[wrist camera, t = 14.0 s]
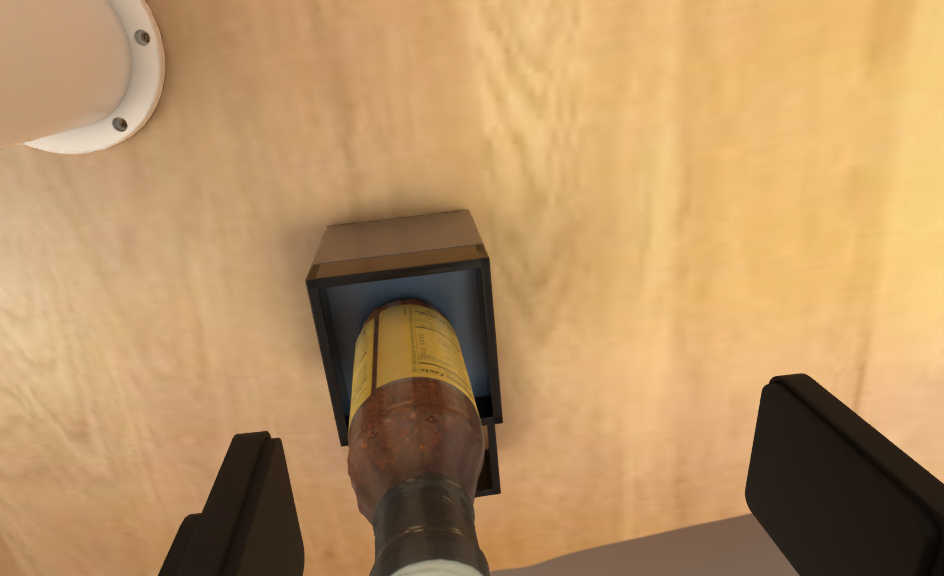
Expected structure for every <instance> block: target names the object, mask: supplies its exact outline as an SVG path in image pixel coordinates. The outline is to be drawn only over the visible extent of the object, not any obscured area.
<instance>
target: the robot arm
mask: <svg viewBox="0 0 944 576" xmlns="http://www.w3.org/2000/svg"><path fill="white" fill-rule="evenodd" d="M146 33H147V34H148V35H149V37H150V41H149V42H146V41H145V39H144V35H145V34H146ZM164 78H165V52H164V48H163V43H162V39H161V35H160V31H159V28H158V26H157V23H156V21H155V18H154V16H153V14H152V11H151V9H150V8H149V6H148V4H147V3H146V1H145V0H0V149H1V148H5V147H9V146H12V145H16V144H20V143H21V144H23V145H26V146H29V147H32V148H35V149H38V150H41V151H47V152H53V153H59V154H85V153H90V152H95V151H100V150H104V149H107V148H109V147H112V146H115V145H117V144H119V143H121V142H123V141H124V140H126V139H128V138H130V137H131V136H133V135H134V134H135V133H136V132H137V131H138V130H139V129H140V128H142V127H143V126H144V125H145V124H146V122H147V121H148V119H149V118H150V116H151V115H152V114H153V112H154V111H155V109H156V107H157V104H158V101H159V99H160V96H161V94H162V90H163V84H164ZM123 119H124V120H125V121H126V122H127V127H125V126H124V125H123V123H122V120H123ZM745 498H746V502H747V505H748V507H749V509H750V511H751V512H752V513H753V515H754V516H755V517H756V519H757V520H758V521H759V523H760V524H761V525H762V526H763V528H764V529H765V531H766V532H767V533H768V534H769V536H770V537H771V538H772V540H773V541H774V542H775V544H776V545H777V546H778V548H779V549H780V550H781V552H782V553H783V554H784V555H785V557H786V558H787V559H788V561H789V562H790V563H791V565H792V566H793V567H794V569H795V570H796V571H797V573H798V574H799V575H800V576H944V484H943V483H942V482H941V481H939V480H938V479H937V478H936V477H934V476H933V475H932V474H931V473H929V472H928V471H927V470H926V469H924V468H923V467H922V466H921V465H919V464H918V463H917V462H916V461H914V460H913V459H912V458H911V457H909V456H908V455H907V454H906V453H904V452H903V451H902V450H901V449H899V448H898V447H897V446H896V445H894V444H893V443H892V442H891V441H889V440H888V439H887V438H886V437H885V436H883V435H882V434H881V433H880V432H878V431H877V430H876V429H875V428H873V427H872V426H871V425H870V424H868V423H867V422H866V421H865V420H863V419H862V418H861V417H860V416H858V415H857V414H856V413H855V412H853V411H852V410H851V409H850V408H848V407H847V406H846V405H845V404H843V403H842V402H841V401H840V400H838V399H837V398H836V397H835V396H833V395H832V394H831V393H830V392H828V391H827V390H826V389H825V388H823V387H822V386H821V385H820V384H818V383H817V382H816V381H815V380H813V379H812V378H811V377H810V376H808V375H806V374H791V375H782V376H775V377H773V378H772V379H771V380H770V382H769V384H768V385H765V386H764V387H763V389H762V393H761V399H760V405H759V411H758V417H757V423H756V429H755V435H754V441H753V447H752V453H751V459H750V465H749V470H748V476H747V482H746V488H745ZM303 570H304V546H303V541H302V536H301V531H300V527H299V522H298V517H297V512H296V507H295V503H294V498H293V493H292V488H291V484H290V479H289V474H288V469H287V464H286V460H285V455H284V450H283V445H282V441H281V439H280V438H272V439H271V436H270V434H269V432H268V431H262V432H253V433H244V434H236V435H235V436H234V437H233V439H232V441H231V444H230V446H229V449H228V451H227V453H226V456H225V458H224V461H223V463H222V466H221V468H220V470H219V473H218V475H217V478H216V480H215V482H214V485H213V487H212V490H211V492H210V494H209V497H208V499H207V502H206V504H205V506H204V509H203V511H202V513H198V514H190V515H188V516H187V517H186V518H185V519H184V520H183V522H182V524H181V525H180V528H179V530H178V532H177V534H176V537H175V539H174V541H173V543H172V545H171V548H170V550H169V552H168V554H167V557H166V559H165V561H164V563H163V566H162V568H161V570H160V572H159V574H158V576H303Z"/></svg>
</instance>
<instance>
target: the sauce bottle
mask: <svg viewBox="0 0 944 576" xmlns="http://www.w3.org/2000/svg"><path fill="white" fill-rule="evenodd" d="M348 443H349V455H348V474H349V476H350V478H351V484H352V487H353V489H354V491H355V493H356V497H357V501H358V508H359V511H360V513H361V514H363V515H364V516H365V517H366V518H367V520H368V521H369V522H370V523H371V525H372V526H373V530H374V535H375V563H374V565H373V568H372V570H371V572H370V575H369V576H490V574H489V566H488V563H487V560H486V558H485V556H484V554H483V552H482V551H481V550H480V548H479V545H478V541H477V536H476V531H475V525H474V521H475V514H474V507H473V503H474V498H475V492H476V487H477V481H478V477H479V475H480V473H481V470H482V466H483V462H484V453H485V441H484V433H483V429H482V424H481V420H480V417H479V414H478V410H477V407H476V403H475V400H474V396H473V393H472V389H471V385H470V381H469V377H468V373H467V370H466V367H465V363H464V360H463V356H462V352H461V348H460V345H459V341H458V338H457V335H456V333H455V331H454V329H453V327H452V326H451V324H450V322H449V320H448V319H447V317H446V316H445V315H444V314H442V313H441V312H440V311H439V310H438V309H435V308H434V307H433V306H431V305H429V304H427V303H425V302H421V301H420V300H417V299H404V300H397V301H394V302H390V303H387V304H386V305H384V306H380V307H379V308H377V309H375V310H374V311H373V312H372V313H371V314H370V315H369V316H368V318H367V319H366V321H365V322H364V324H363V327H362V330H361V332H360V335H359V337H358V339H357V342H356V346H355V358H354V368H353V383H352V395H351V407H350V418H349V430H348Z"/></svg>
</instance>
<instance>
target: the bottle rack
mask: <svg viewBox="0 0 944 576" xmlns="http://www.w3.org/2000/svg"><path fill="white" fill-rule="evenodd" d="M306 286H307V290H308V295H309V299H310V304H311V309H312V313H313V318H314V323H315V327H316V332H317V337H318V341H319V346H320V351H321V355H322V360H323V365H324V369H325V374H326V379H327V383H328V388H329V392H330V397H331V402H332V406H333V411H334V416H335V420H336V425H337V430H338V434H339V439H340V444H341V446H348V445H349V443H348V430H349V418H350V407H351V395H352V383H353V368H354V358H355V346H356V342H357V339H358V337H359V335H360V332H361V330H362V327H363V324H364V322H365V321H366V319H367V318H368V316H369V315H370V314H371V313H372V312H373V311H374V310H375V309H377V308H379V307H380V306H384V305H386V304H387V303H390V302H394V301H397V300H404V299H417V300H420V301H421V302H425V303H427V304H429V305H431V306H433V307H434V308H435V309H438V310H439V311H440V312H441V313H442V314H444V315H445V316H446V317H447V319H448V320H449V322H450V324H451V326H452V327H453V329H454V331H455V333H456V335H457V338H458V341H459V345H460V348H461V352H462V356H463V360H464V363H465V367H466V370H467V373H468V377H469V381H470V385H471V389H472V393H473V396H474V400H475V403H476V407H477V410H478V414H479V417H480V420H481V424H482V429H483V433H484V441H485V453H484V462H483V466H482V470H481V473H480V475H479V477H478V481H477V487H476V492H475V497H481V496H488V495H495V494H501V489H500V477H499V466H498V455H497V444H496V433H495V424H500V423H503V417H502V405H501V393H500V381H499V369H498V356H497V344H496V332H495V320H494V308H493V296H492V284H491V272H490V259H489V256H488V254H487V251H486V249H485V247H484V244H483V242H482V239H481V237H480V235H479V232H478V230H477V228H476V225H475V223H474V221H473V218H472V216H471V213H470V211H469V210H462V211H454V212H445V213H437V214H428V215H420V216H411V217H403V218H394V219H386V220H377V221H369V222H360V223H351V224H343V225H334V226H327V228H326V230H325V233H324V235H323V238H322V240H321V243H320V245H319V248H318V250H317V253H316V255H315V258H314V260H313V263H312V265H311V268H310V270H309V273H308V275H307V278H306Z"/></svg>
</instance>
